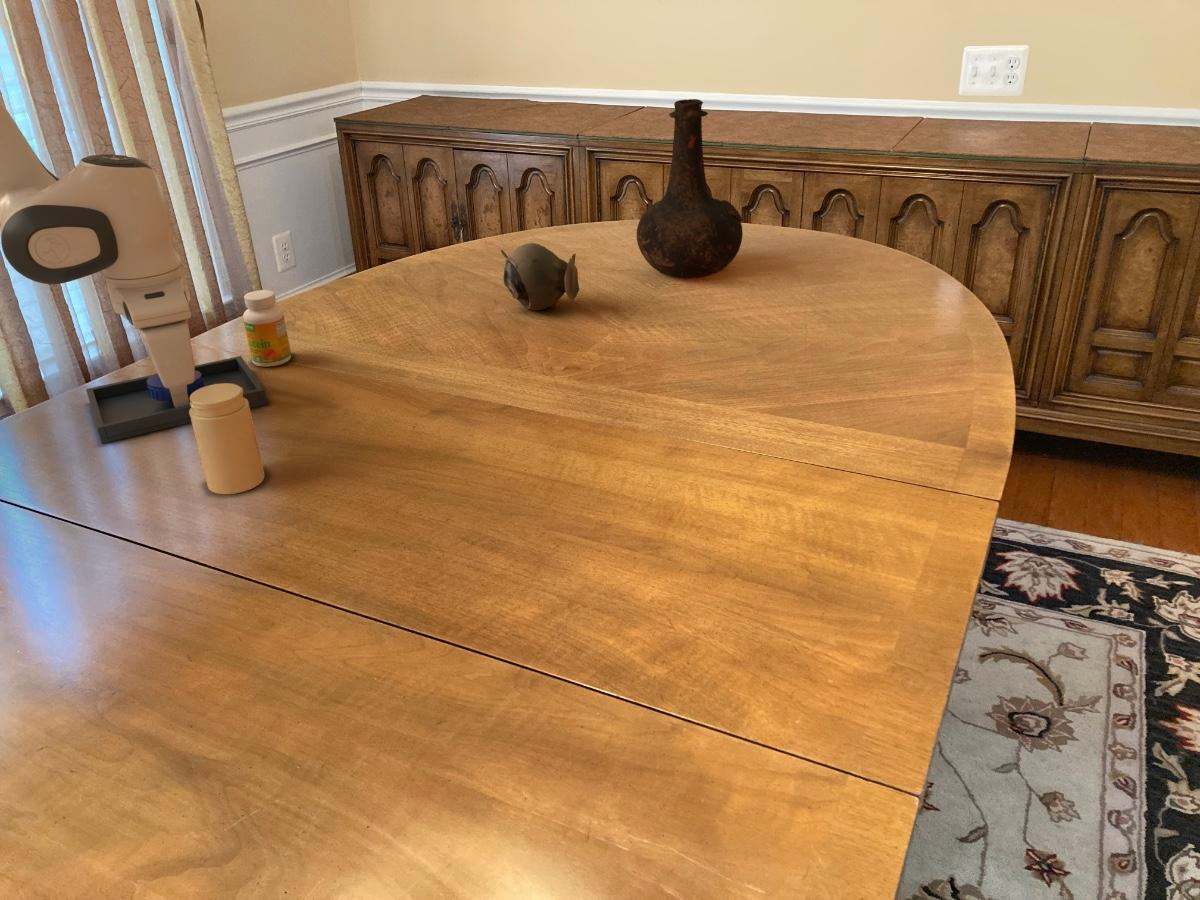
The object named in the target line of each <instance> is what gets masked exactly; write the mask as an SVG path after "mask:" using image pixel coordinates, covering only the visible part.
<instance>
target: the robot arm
mask: <svg viewBox="0 0 1200 900" xmlns="http://www.w3.org/2000/svg"><path fill="white" fill-rule="evenodd" d="M174 228H175V227H174V223H173V218H172V215H171V211H170V208H169V204H168V200H167V197H166V193H165V191H164V188H163V186H162V183H161V181H160V178H159V176H158V175H157V172H156V171H155V169H153V167H151V165H149V164H148V163H146V162H145V161H144V160H141V159H139V158H137V157H133V156H128V155H122V154H109V153H108V154H105V153H104V154H91V155H87V156H86V157H82V158H81V159H80V161H79V162H78V164H77V165H76V166H74V167H73V168H72V169H71V170H70V171H69V172H68V173H66V174H65V175H64V176H62V177H61V178H60V177H57V176H56V175H55V174H54V173H52V172H51V171H50V170H49V169H48V168H47V167H46V166H45V165H44V164H43V162H42V161H41V160H40V158H39V157H38V156H37V154H36V153H35V151H34V149H33V147H32V146H31V145H30V143H29V142H28V140H27V138H26V137H25V135H24V134H23V132H22V131H21V129H20V128H19V127H18V125H17V123H16V122H15V120H14V119H13V117H12V115H11V114H10V112H9V111H8V109H7V108H6V106H5V105H4V102H3V101H2V99H1V98H0V243H1V249H2V252H3V255H4V257H5V259H6V260H7V262H8V264H9V265H10V266H11V267H12V268H13V269H14V270H15V271H16V272H17V273H18V274H20V276H21V275H22V277H24V278H27V279H29V280H30V281H33V282H36V283H39V284H44V285H61V284H65V283H69V282H73V281H77V280H79V279H83V278H85V277H89V276H91V275H93V274H97V273H99V272H103V276H104V281H105V284H106V287H107V291H108V295H109V298H110V303H111V305H112V309H113V311H114V313H115V314H117V315H120V316H122V317H123V318H124V319H125V320H127V321H128V323H129V324H130V325H131V326H132V327H133V329H135V330H136V331H137V332H138V334H139V335H140V339H141V341H142V343H143V345H144V347H145V349H146V351H147V353H148V355H149V358H150V360H151V362H152V365H153V367H154V368H155V371H156V374H157V373H158V375H159V378H160V380H161V382H162V384H163V386H164V387H165V388H169V390H170V394H171V398H172V401H173V404H174V406H175V408H177V407H181V406H186V405H189V399H188V395H187V384H191V383H193V382H194V380H195V367H194V366H195V359H194V354H193V353H194V352H193V347H192V340H191V334H190V328H189V323H188V320H191V319H192V311H191V308H190V301H191V293H190V289H189V285H188V281H187V276H186V273H185V268H184V264H183V260H182V257H181V255H180V254H179V252H178V250H177V248H176V245H175V241H174V234H175V233H174V232H175V229H174Z"/></svg>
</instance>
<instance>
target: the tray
mask: <svg viewBox="0 0 1200 900" xmlns="http://www.w3.org/2000/svg"><path fill="white" fill-rule="evenodd" d="M194 367H195V370H196V371H199V372H200V373H201V376H202V378H203V383H204V387H206V386H209V385H214V384H222V383H229V384H235V385H238V386H240V387H242V389H243V397H244V398H246V399H247V400H248V402H249V407H250V409H253V408H257V407H263V406H266V405H268V399H267V395H266V390H265V388H264V387H263V385H262V384H261V382H260V381H259V380H258V378H257V377H256V374H254V373H253V371H252V369H251V368H250V367H249V365H248V364H247V362H246V361H245V359H244V358H243V357H242V355H238V356H235V357H229V358H224V359H219V360H215V361H211V362H205V363H202V364H195V365H194ZM152 375H153V374H150V375H145V376H140V377H135V378H130V379H126V380H121V381H117V382H113V383H108V384H102V385H98V386H94V387H88V388H86V389H85V391H86V395H87V398H88V402H89V405H90V408H91V412H92V415H93V418H94V422H95V426H96V429H97V432H98V436H99V439H100V442H101V445H102V444H106V443H111V442H115V441H119V440H124V439H128V438H132V437H137V436H140V435H144V434H145V435H146V434H148V433H154V432H157V431H161V430H165V429H169V428H174V427H177V426H181V425H186V424H190V423H191V419H190V415H189V410H190V409H191V406H190V398H188V399H189V405H186V406H181V407H177V408H175V406H174V404H173V401H158V400H154V399H152V398H151V397H150V396H149V394H148V389H147V379H148V378H149V377H150V376H152ZM191 424H192V423H191Z"/></svg>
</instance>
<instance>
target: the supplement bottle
mask: <svg viewBox="0 0 1200 900" xmlns="http://www.w3.org/2000/svg"><path fill="white" fill-rule="evenodd" d="M243 299H244V305H245V307H246V308H247V309H246V310H245V311H243V314H242V319H243V325H244V330H245V333H246V338H247V344H248V348H249V354H250V358H251V362H252V363H253V364H254V366H257V367H276V366H280V365H284V364H285V363H287V362H289V361H290V360H291V357H292V352H291V345H290V341H289V335H288V330H287V324H286V320H285V319H286V318H285V314H284V310H283V309H282V308H281V307H280V306H279V305H276V303H277V299H276V295H275V292H274V291H273V290H268V289H259V290H258V289H257V290H253V291H250V292H248V293H245V294H244V296H243Z"/></svg>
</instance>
